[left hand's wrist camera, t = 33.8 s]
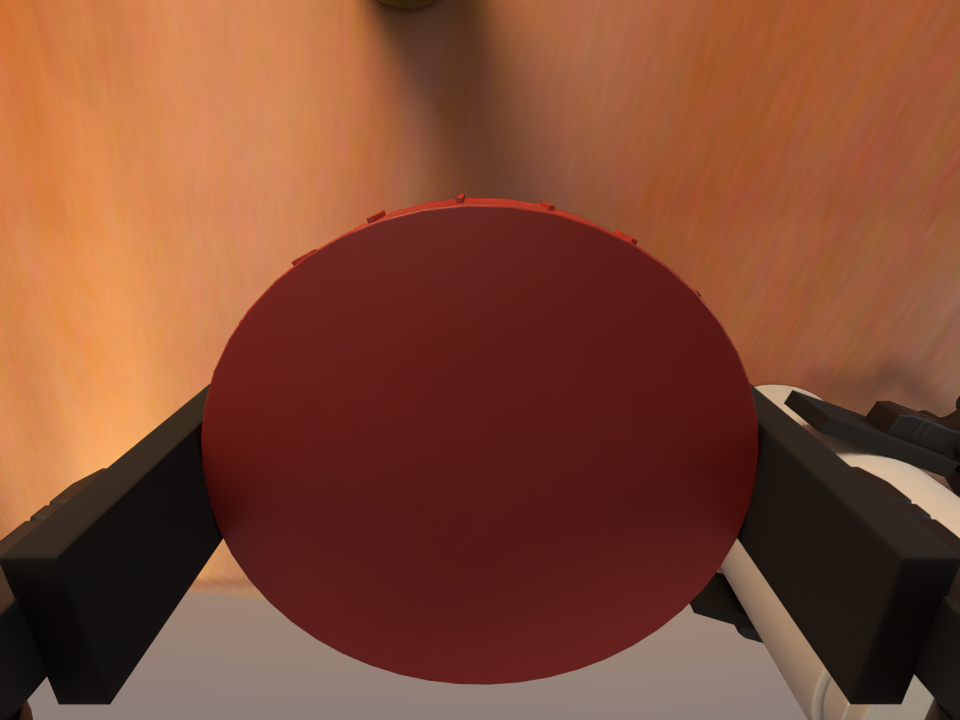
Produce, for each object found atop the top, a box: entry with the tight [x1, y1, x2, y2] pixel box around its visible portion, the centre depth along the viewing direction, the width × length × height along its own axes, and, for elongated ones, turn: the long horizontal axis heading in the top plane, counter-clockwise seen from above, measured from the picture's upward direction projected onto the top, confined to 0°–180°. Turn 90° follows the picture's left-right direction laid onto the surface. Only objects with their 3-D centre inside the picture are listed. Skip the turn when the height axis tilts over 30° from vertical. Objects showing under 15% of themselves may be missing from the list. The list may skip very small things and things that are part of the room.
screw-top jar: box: [720, 385, 960, 720], centre depth 24 cm, size 10×10×16 cm
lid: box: [201, 194, 759, 685], centre depth 11 cm, size 11×11×2 cm
